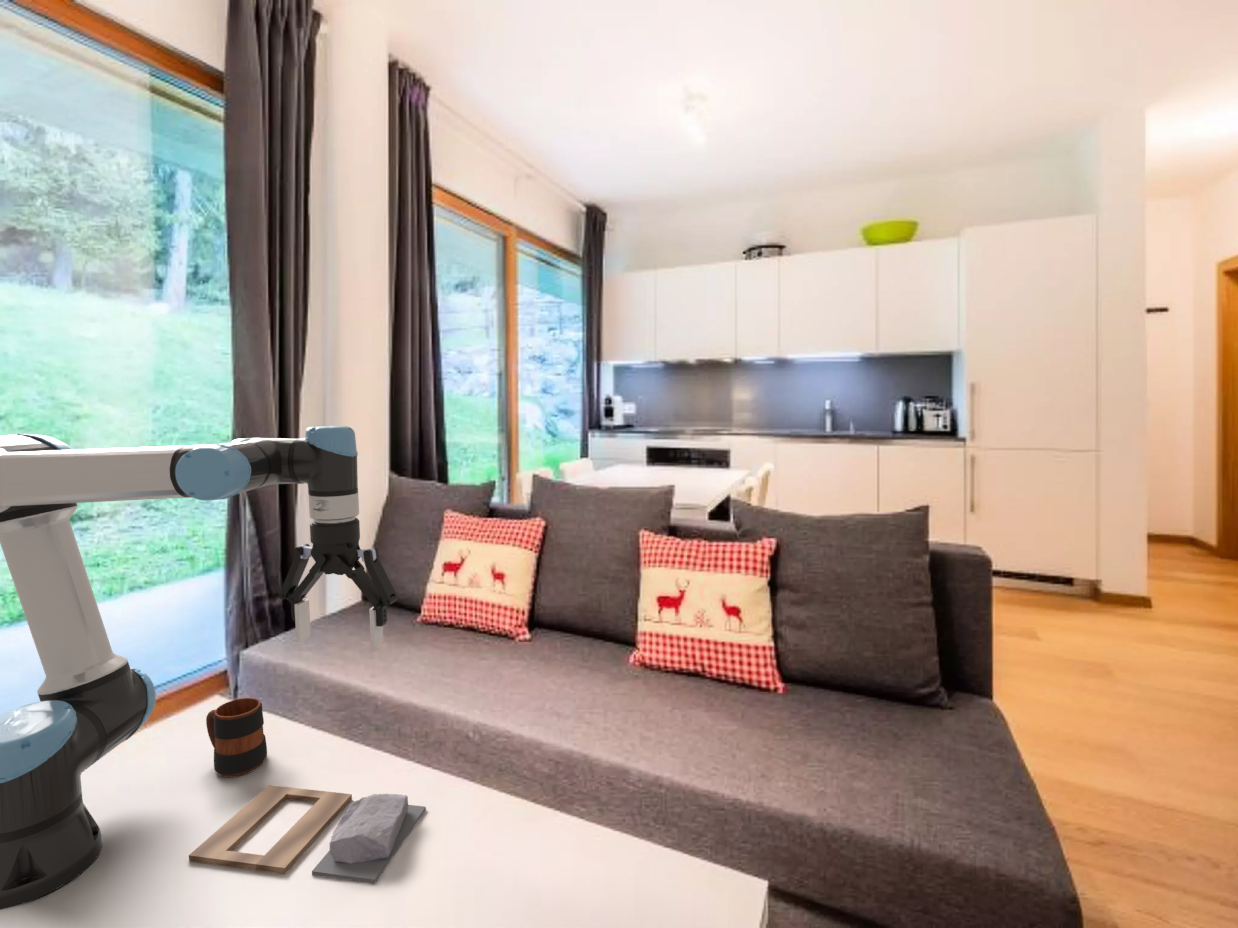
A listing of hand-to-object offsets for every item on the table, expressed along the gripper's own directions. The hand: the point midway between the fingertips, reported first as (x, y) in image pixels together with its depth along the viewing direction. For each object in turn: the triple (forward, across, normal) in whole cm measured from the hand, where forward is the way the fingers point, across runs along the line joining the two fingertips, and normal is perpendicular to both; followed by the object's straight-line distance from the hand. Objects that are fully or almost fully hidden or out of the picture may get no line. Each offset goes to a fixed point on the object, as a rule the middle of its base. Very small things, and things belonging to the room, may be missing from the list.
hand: (340, 641), depth 103 cm
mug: (+29, -27, +6) cm, 40 cm away
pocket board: (+29, -7, -8) cm, 31 cm away
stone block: (+28, +9, -8) cm, 31 cm away
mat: (+29, +10, -8) cm, 32 cm away
